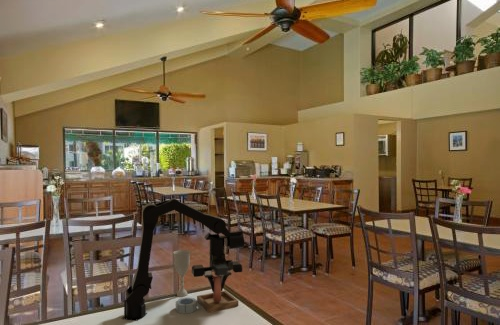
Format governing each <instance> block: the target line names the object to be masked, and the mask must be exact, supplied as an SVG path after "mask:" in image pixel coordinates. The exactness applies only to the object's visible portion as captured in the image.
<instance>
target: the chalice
mask: <svg viewBox="0 0 500 325" xmlns="http://www.w3.org/2000/svg"><path fill="white" fill-rule="evenodd" d="M191 254H192V251H191V250H189V249H180V250H175V251H173V255H174V256H173V257H174V259H173V261H174V263H173V264H174V268H175V270H176V272H177V274H178V275H179V276H180V279H179V280H180V284H179V285H180V289H179V290H178V291H177V293H176V297H178V298H186V297H188V295H189V293H188V290H186V289H185V287H184V285H185V283H184V281H185V277H184V276H185V275H186V274H187V272H188V269H189V268H190V264H191V257H190V256H191Z"/></svg>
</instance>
